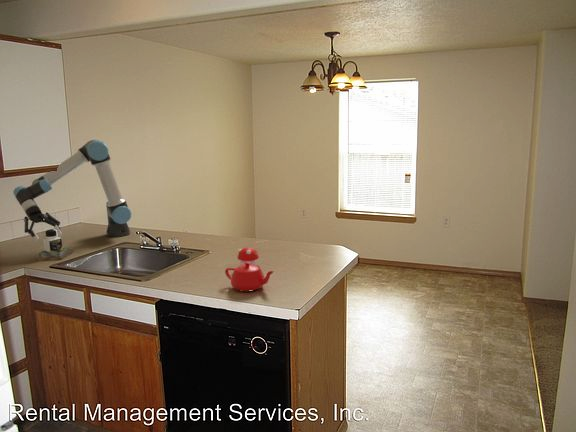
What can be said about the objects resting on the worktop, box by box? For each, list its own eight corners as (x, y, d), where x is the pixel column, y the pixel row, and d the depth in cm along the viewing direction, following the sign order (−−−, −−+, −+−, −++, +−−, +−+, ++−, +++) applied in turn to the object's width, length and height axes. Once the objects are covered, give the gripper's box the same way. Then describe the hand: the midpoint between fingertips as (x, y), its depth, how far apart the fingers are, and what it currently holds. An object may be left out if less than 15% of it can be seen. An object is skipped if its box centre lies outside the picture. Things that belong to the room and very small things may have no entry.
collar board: (72, 252, 276) (71, 246, 276) (61, 259, 263) (60, 253, 262) (48, 253, 276) (47, 247, 275) (36, 260, 262) (35, 254, 262)
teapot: (217, 290, 212) (215, 264, 210) (234, 279, 226) (233, 255, 224) (267, 298, 202) (266, 270, 200) (282, 286, 216) (281, 260, 214)
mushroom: (239, 266, 245) (238, 244, 243) (260, 266, 245) (259, 244, 242) (236, 273, 235) (235, 250, 232) (258, 273, 234) (257, 250, 232)
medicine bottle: (50, 252, 264) (48, 232, 261) (44, 250, 268) (41, 230, 265) (63, 250, 269) (60, 229, 267) (56, 248, 273) (54, 227, 271)
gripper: (50, 209, 285) (67, 236, 280) (7, 217, 264) (25, 246, 260) (54, 201, 281) (72, 229, 276) (11, 209, 261) (29, 238, 256)
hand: (49, 237), depth 268 cm, fingers open, 13 cm apart
